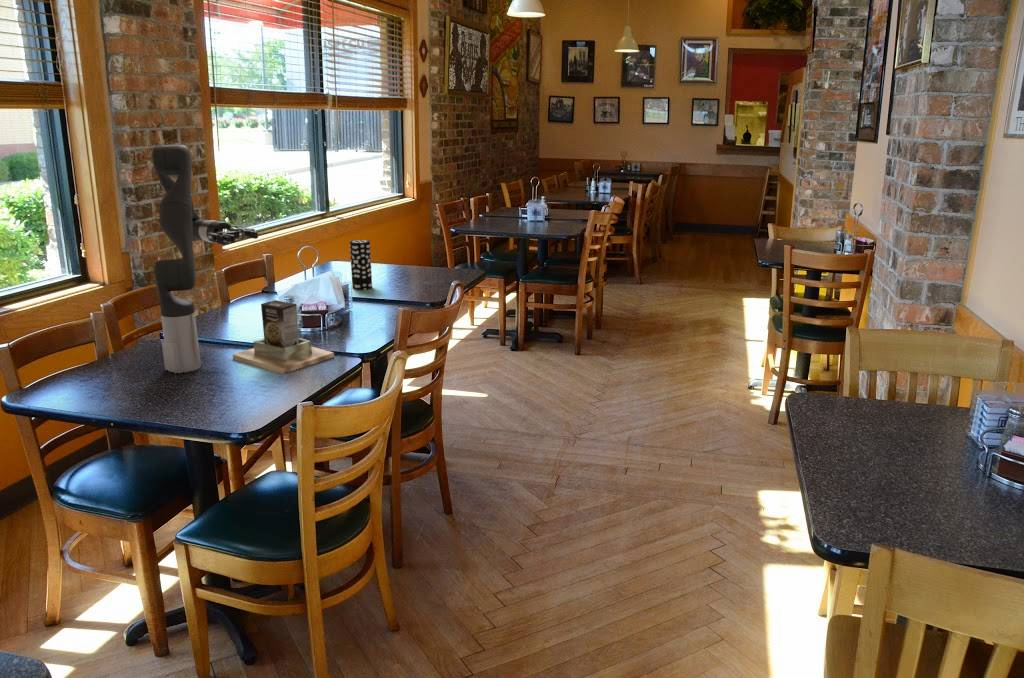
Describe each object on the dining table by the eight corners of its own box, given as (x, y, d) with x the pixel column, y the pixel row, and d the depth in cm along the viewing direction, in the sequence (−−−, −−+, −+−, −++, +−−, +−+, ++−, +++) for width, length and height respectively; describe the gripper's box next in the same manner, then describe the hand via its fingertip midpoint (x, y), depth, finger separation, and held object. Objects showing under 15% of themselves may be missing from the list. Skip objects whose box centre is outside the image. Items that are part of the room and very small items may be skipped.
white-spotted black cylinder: (350, 286, 339) (347, 240, 333) (369, 284, 343) (366, 239, 337) (355, 290, 332) (352, 243, 326) (374, 289, 335) (372, 242, 329)
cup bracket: (282, 374, 234) (280, 356, 232) (233, 358, 247) (231, 342, 245) (334, 357, 249) (332, 340, 247) (284, 343, 262) (283, 327, 261)
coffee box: (264, 353, 247) (259, 303, 242) (279, 348, 253) (275, 299, 248) (286, 358, 243) (281, 307, 238) (301, 352, 248) (296, 303, 243)
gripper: (195, 223, 257) (225, 228, 248) (233, 218, 268) (263, 222, 259) (197, 246, 259) (227, 252, 250) (235, 240, 270) (265, 245, 261)
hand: (245, 237), depth 255 cm, fingers open, 8 cm apart
